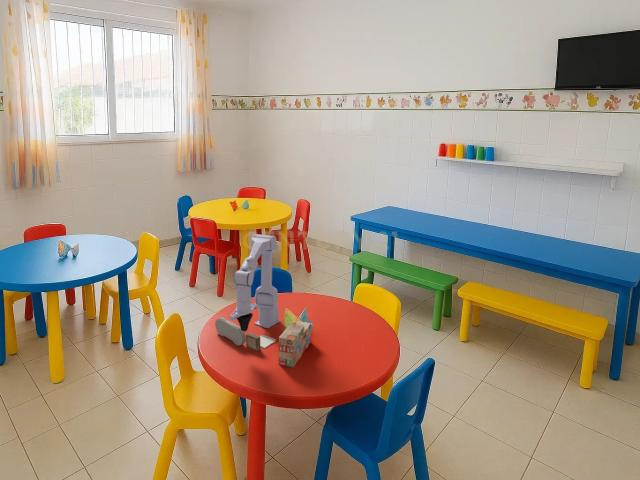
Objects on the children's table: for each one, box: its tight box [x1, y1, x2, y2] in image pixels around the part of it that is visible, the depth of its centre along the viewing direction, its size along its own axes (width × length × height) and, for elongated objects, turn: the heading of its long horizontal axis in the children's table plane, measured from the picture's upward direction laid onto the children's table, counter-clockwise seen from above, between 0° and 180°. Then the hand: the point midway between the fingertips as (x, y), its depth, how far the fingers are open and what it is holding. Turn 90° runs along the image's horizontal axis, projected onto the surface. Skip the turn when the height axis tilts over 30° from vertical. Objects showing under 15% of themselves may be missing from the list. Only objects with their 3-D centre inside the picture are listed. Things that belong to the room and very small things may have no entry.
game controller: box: [214, 316, 246, 347], centre depth 200 cm, size 20×2×8 cm, turn 47°
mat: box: [259, 334, 277, 349], centre depth 199 cm, size 8×8×1 cm
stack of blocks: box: [278, 320, 312, 368], centre depth 190 cm, size 21×6×12 cm, turn 162°
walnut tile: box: [245, 332, 261, 352], centre depth 193 cm, size 2×6×6 cm, turn 57°
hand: (244, 330), depth 188 cm, fingers closed
